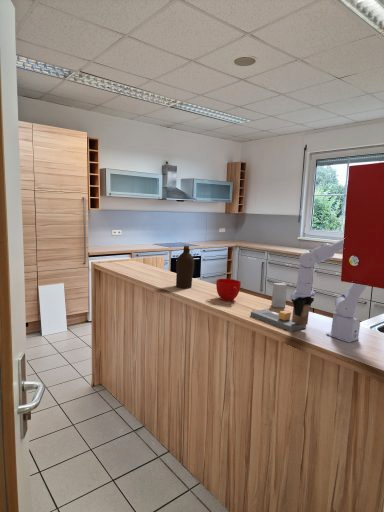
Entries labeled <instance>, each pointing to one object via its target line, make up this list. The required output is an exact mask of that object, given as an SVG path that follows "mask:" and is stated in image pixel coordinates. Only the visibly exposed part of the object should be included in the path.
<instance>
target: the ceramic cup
mask: <svg viewBox="0 0 384 512" xmlns="http://www.w3.org/2000/svg"><path fill="white" fill-rule="evenodd" d="M215 282H216V283H215V284H216V293H217V295H218V296H219V298H220V300H222V301H225V302H231V301H234V300H235V298H237V297H238V295H239V294H240V290H241V284H242V282H241V281H240V280H237V279H232V278H218V279H216V281H215Z"/></svg>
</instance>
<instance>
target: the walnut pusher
mask: <svg viewBox="0 0 384 512" xmlns="http://www.w3.org/2000/svg"><path fill="white" fill-rule="evenodd" d="M292 307H293V308H292V309H293V310H292V316H291V318H292V322H294V323H296V324H299V325H302V326H303V325H306V326H307V325H308V324H309V323H308V322H309V314H310V307H311V305H307V304H304V305H303V308H302V313H301V316H297V315H295V310H294V306H292Z"/></svg>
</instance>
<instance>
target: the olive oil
mask: <svg viewBox="0 0 384 512" xmlns="http://www.w3.org/2000/svg"><path fill="white" fill-rule="evenodd" d="M182 251H183V252H181V254H179V255H178V257H177V258H176V272H175V273H176V274H175V275H176V278H175V281H176V282H175V287H177V288H178V289H191V288H192V285H193V276H194V275H193V274H194V269H195V259H194V257H193V255H192V254H191V253H190V246H189V245H183V250H182Z"/></svg>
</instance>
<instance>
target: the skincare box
mask: <svg viewBox="0 0 384 512" xmlns="http://www.w3.org/2000/svg"><path fill="white" fill-rule="evenodd" d="M287 290H288V284H286V283H284V282H281V283H280V282H273V285H272V295H271V307H273V308H280V309H281V308H283V309H284V308H286V301H287Z"/></svg>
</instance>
